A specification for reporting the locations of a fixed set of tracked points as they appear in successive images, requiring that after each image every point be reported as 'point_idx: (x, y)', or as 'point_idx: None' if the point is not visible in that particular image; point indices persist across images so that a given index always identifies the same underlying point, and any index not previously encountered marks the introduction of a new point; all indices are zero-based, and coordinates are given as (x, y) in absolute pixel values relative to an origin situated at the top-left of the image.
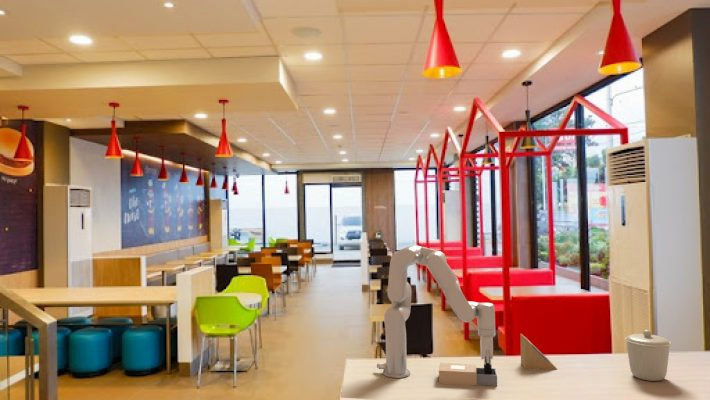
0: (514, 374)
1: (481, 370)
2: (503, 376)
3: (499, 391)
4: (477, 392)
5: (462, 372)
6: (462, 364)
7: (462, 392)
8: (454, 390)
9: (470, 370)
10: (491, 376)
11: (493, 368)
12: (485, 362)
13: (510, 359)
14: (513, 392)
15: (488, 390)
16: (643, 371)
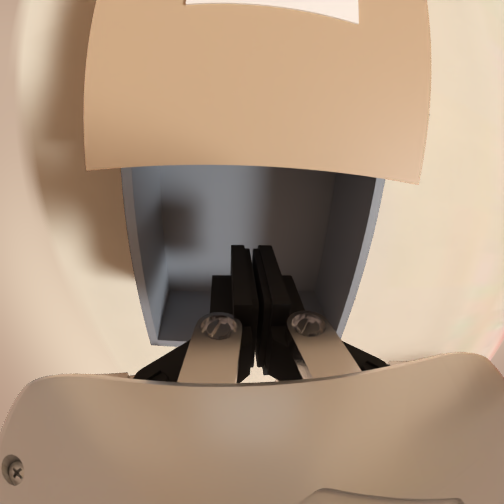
0: (379, 358)
1: (354, 220)
2: (364, 322)
3: (99, 291)
4: (41, 162)
5: (101, 3)
6: (411, 24)
7: (29, 71)
8: (57, 17)
9: (154, 81)
10: (144, 302)
11: (343, 329)
12: (188, 360)
13: (497, 326)
14: (116, 347)
15: (90, 231)
16: None
